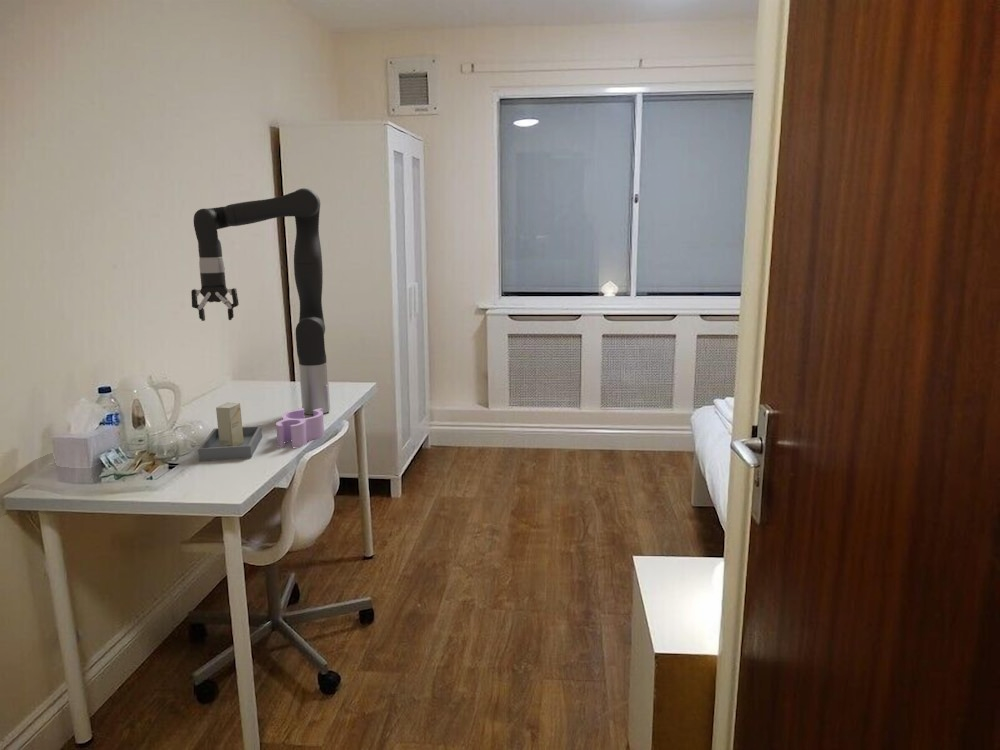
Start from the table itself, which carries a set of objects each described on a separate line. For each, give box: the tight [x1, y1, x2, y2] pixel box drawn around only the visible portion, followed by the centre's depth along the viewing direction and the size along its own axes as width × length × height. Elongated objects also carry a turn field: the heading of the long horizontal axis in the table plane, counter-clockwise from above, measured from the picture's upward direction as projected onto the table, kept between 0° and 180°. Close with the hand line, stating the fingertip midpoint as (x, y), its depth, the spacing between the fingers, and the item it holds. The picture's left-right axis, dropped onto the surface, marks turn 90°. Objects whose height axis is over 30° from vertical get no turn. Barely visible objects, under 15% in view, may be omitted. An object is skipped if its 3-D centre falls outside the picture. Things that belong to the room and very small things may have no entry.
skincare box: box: [215, 402, 244, 447], centre depth 212 cm, size 6×4×12 cm
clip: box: [275, 407, 325, 448], centre depth 222 cm, size 20×12×7 cm, turn 173°
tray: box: [197, 425, 263, 462], centre depth 213 cm, size 14×20×4 cm
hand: (216, 320), depth 240 cm, fingers open, 8 cm apart
